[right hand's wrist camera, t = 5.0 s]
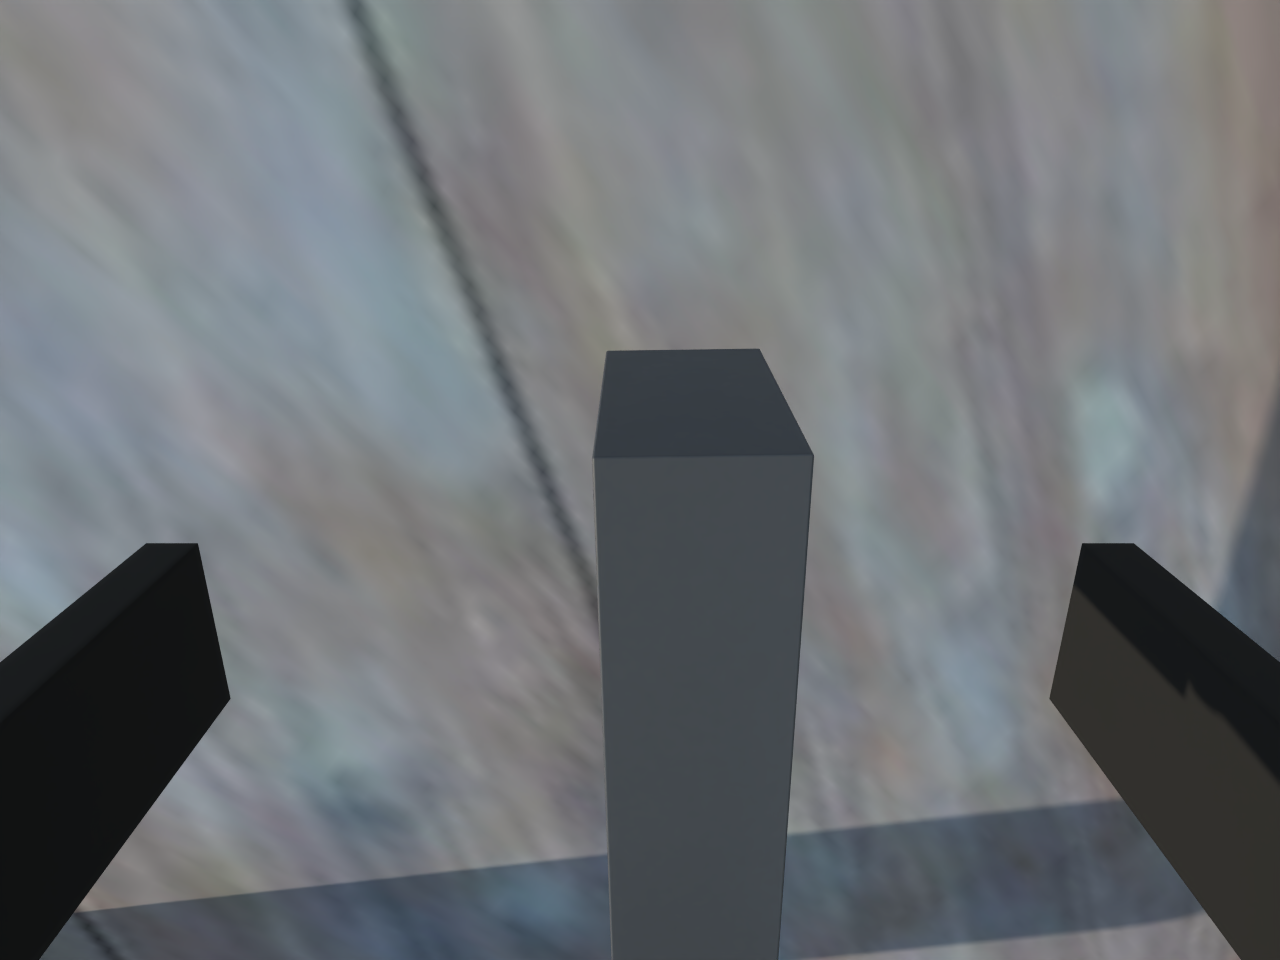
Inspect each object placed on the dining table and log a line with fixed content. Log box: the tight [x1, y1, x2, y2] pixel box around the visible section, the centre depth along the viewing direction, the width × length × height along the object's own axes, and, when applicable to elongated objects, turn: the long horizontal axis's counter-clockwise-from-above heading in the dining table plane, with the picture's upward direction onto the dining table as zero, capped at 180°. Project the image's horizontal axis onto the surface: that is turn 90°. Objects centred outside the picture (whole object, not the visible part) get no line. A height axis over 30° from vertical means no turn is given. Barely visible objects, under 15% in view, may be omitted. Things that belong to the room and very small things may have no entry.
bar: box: [592, 349, 814, 960], centre depth 27 cm, size 26×5×9 cm, turn 1°
